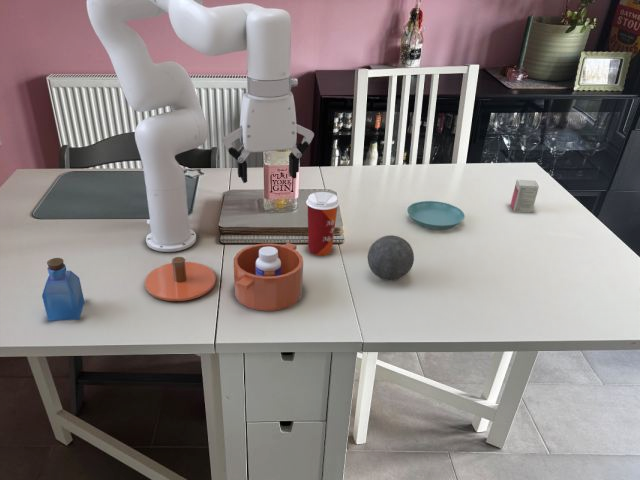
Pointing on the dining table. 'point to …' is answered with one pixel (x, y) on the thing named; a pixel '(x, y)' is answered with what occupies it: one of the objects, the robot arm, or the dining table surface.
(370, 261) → the decorative ball
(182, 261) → the lid
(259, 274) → the pill bottle
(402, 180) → the dining table surface
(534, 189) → the small box
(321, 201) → the paper cup
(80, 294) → the perfume bottle
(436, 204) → the saucer
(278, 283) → the orange cooking pot
